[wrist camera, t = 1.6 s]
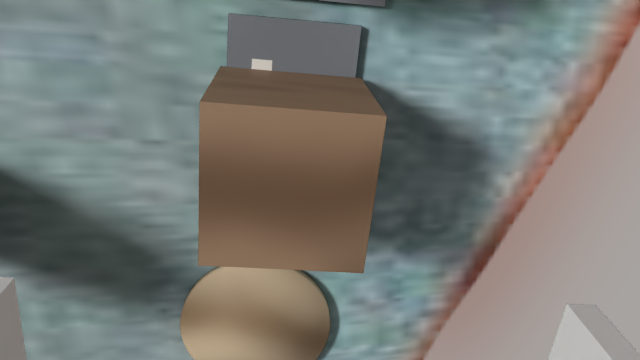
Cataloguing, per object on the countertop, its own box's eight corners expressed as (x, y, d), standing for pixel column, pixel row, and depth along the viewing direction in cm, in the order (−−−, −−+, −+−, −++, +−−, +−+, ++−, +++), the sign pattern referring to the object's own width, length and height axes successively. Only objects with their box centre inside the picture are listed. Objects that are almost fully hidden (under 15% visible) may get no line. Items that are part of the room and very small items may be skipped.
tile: (334, 239, 30) (335, 242, 30) (222, 233, 30) (222, 236, 29) (360, 25, 26) (361, 26, 25) (229, 13, 25) (228, 13, 25)
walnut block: (345, 203, 29) (363, 273, 22) (217, 196, 28) (198, 265, 22) (361, 78, 26) (386, 116, 20) (220, 66, 26) (199, 101, 19)
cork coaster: (321, 379, 34) (322, 386, 34) (182, 375, 33) (180, 383, 33) (336, 261, 31) (337, 267, 30) (181, 254, 30) (179, 259, 29)
